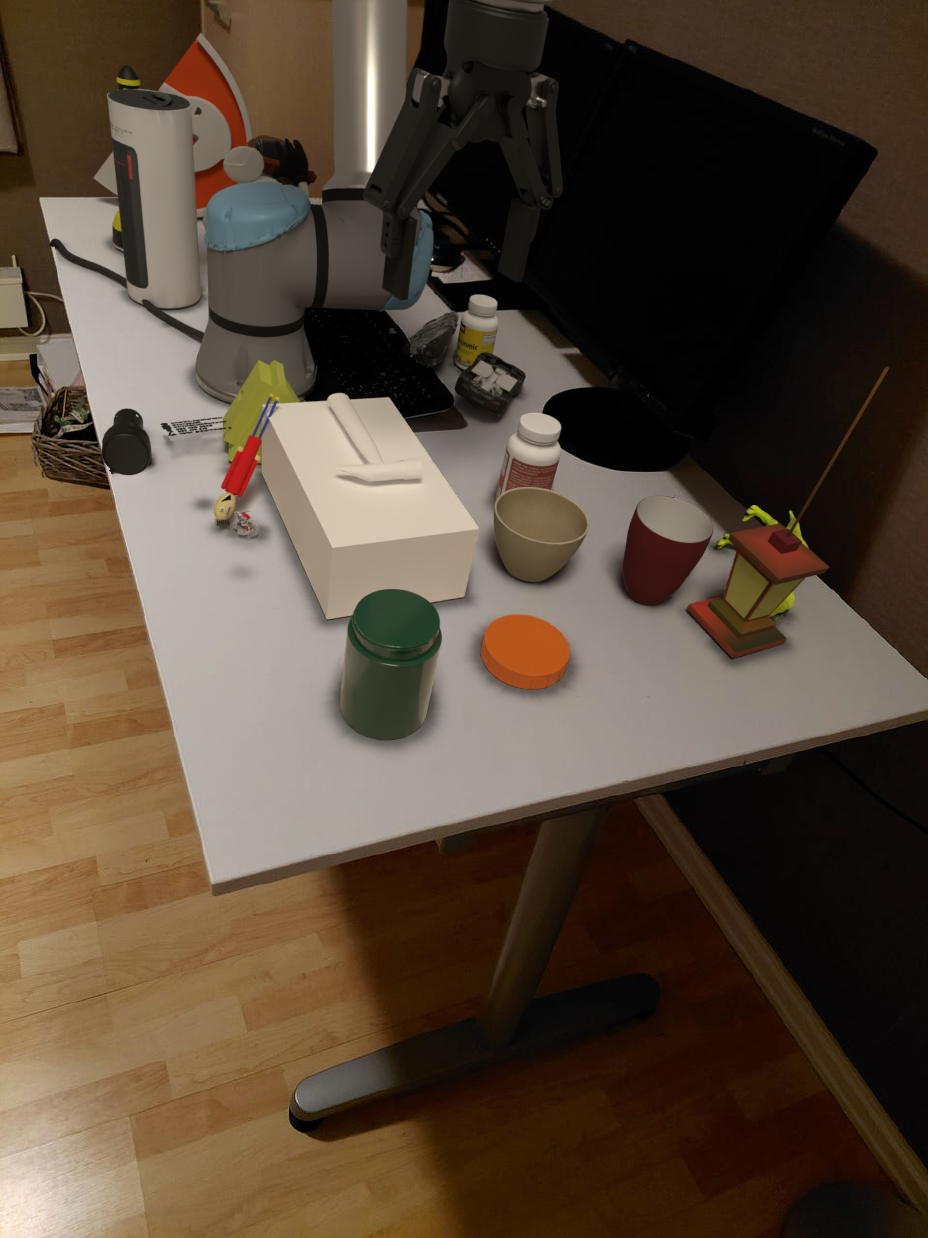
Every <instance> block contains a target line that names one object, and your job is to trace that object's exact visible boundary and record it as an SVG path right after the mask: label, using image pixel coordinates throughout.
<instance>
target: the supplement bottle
mask: <svg viewBox="0 0 928 1238" xmlns="http://www.w3.org/2000/svg"><path fill="white" fill-rule="evenodd" d="M497 309H498V301H497V300H496V299H495V298H493V297H492V296H489V295H485V294H473V295H471V296H470V297H469V301H468V309H467V310H465V311H464V312H463V313H462V314H461V318H460V319H461V320H460V325H459V331H458V337H457V342H456V349H455V352H454V353H455V354H454V364H455V365H456V366H457V367H458V368H460V369H461V370H463V371H464V370H465V369H467V368H469V367H470V366H472V365H473V364H474V361H475V359H476V358H477V356H478V355H479V354H481V353H483V352H488V353H490V354H493V355H494V349H495V348H494V347H495V345H496V340H497V334H498V328H499V318H498V316H496V313H497Z"/></svg>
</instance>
